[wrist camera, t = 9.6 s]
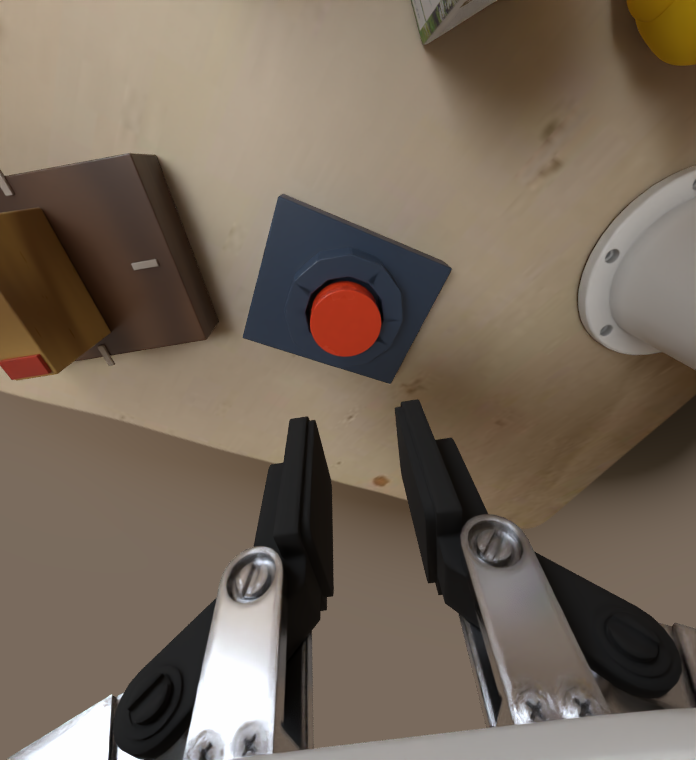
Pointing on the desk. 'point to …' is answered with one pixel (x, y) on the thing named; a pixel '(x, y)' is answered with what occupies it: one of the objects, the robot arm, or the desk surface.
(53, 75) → the desk surface
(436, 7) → the syrup box
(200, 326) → the control panel
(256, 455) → the desk surface
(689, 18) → the duckling
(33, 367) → the rotary knob
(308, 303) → the button box
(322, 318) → the button
